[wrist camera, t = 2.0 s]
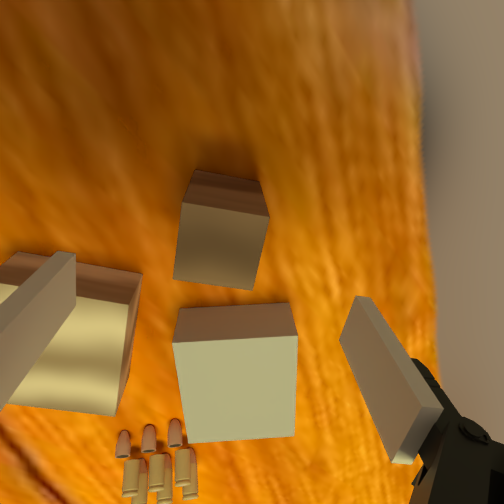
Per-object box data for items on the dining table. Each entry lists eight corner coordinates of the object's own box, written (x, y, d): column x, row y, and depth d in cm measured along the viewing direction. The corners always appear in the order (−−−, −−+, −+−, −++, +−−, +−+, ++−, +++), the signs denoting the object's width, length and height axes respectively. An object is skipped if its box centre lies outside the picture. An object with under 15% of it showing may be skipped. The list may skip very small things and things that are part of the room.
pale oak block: (20, 249, 29) (-18, 280, 25) (143, 272, 31) (128, 305, 26) (23, 359, 34) (-8, 401, 29) (129, 374, 36) (114, 416, 31)
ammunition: (199, 504, 37) (174, 457, 34) (133, 517, 38) (102, 472, 34) (203, 460, 42) (181, 415, 38) (143, 472, 42) (116, 429, 39)
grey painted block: (180, 306, 32) (172, 343, 28) (288, 300, 33) (297, 335, 28) (193, 400, 38) (188, 443, 33) (286, 394, 38) (294, 436, 33)
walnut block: (195, 169, 27) (181, 202, 20) (259, 181, 27) (269, 217, 20) (187, 229, 29) (172, 279, 22) (247, 239, 29) (252, 290, 22)
